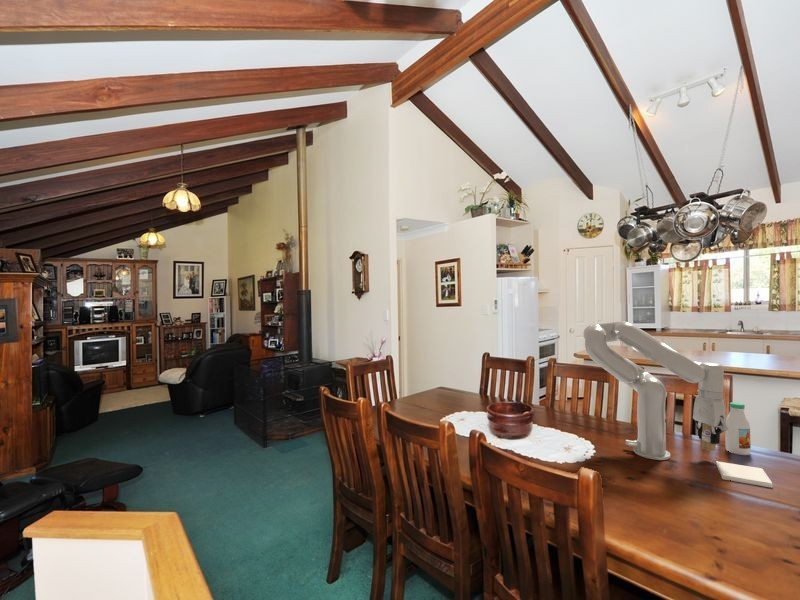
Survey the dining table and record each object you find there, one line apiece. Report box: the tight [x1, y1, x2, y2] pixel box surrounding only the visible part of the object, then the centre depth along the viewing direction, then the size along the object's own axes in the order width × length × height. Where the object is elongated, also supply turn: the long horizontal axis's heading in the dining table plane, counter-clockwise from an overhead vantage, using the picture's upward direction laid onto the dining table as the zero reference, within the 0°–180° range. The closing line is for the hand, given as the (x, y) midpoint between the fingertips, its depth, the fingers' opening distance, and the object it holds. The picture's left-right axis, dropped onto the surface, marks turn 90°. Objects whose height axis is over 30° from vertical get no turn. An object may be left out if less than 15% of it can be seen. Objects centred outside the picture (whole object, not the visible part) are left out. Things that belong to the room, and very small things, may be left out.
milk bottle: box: [724, 401, 752, 456], centre depth 158 cm, size 8×8×20 cm
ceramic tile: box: [715, 460, 774, 489], centre depth 138 cm, size 13×13×2 cm
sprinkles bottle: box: [701, 423, 717, 452], centre depth 151 cm, size 5×5×13 cm
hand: (708, 440), depth 151 cm, fingers closed on sprinkles bottle, 4 cm apart
